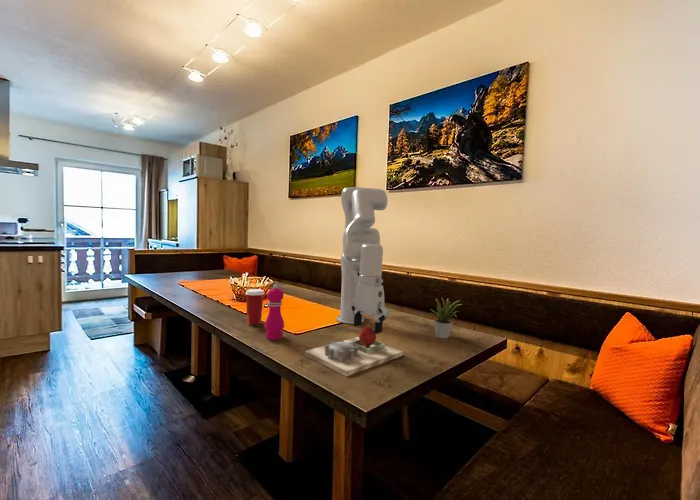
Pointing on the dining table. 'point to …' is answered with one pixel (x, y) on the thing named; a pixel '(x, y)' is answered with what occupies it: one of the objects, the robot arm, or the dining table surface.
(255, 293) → the paper cup
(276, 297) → the pepper mill
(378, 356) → the gear board
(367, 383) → the dining table surface
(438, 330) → the house plant
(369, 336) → the onion
